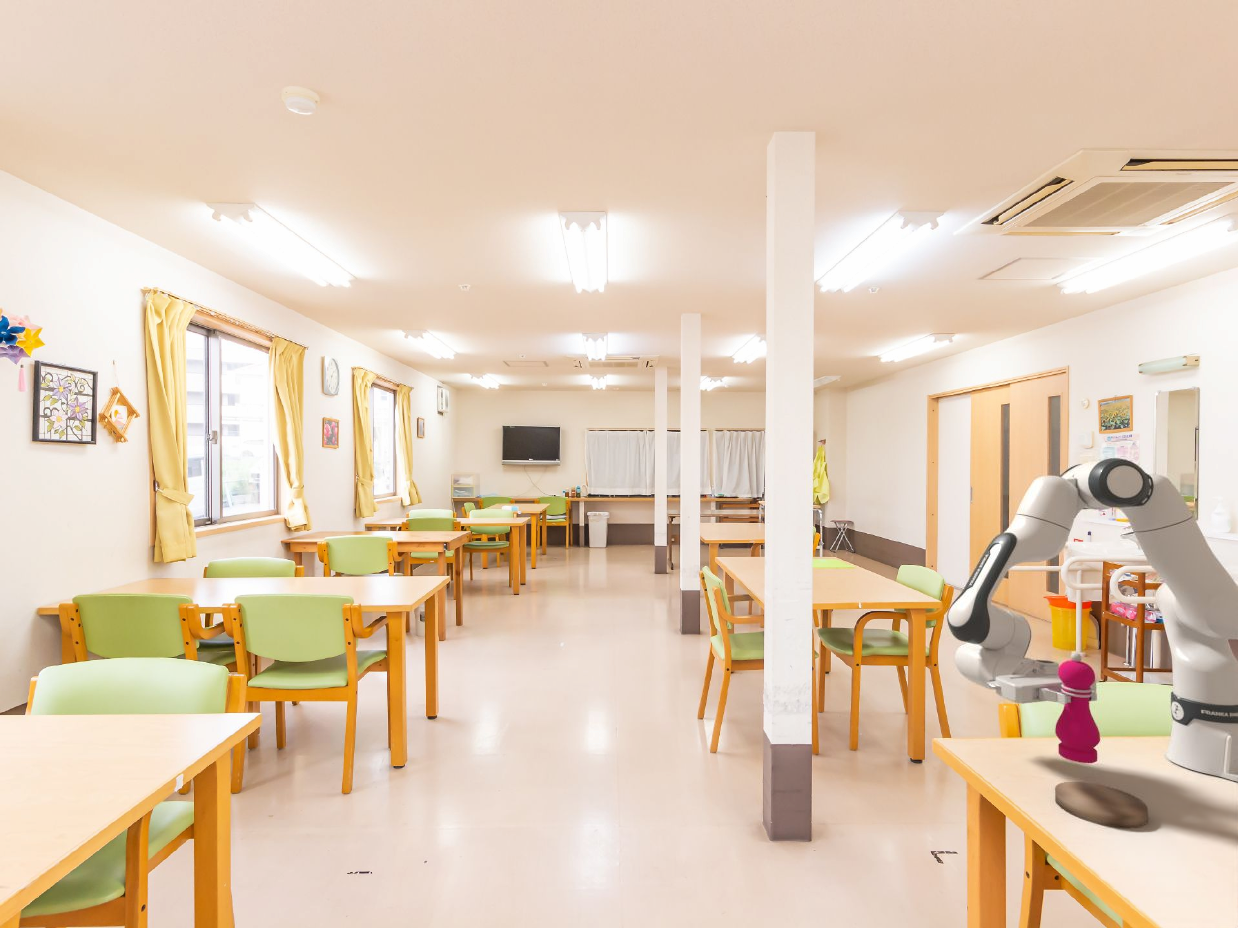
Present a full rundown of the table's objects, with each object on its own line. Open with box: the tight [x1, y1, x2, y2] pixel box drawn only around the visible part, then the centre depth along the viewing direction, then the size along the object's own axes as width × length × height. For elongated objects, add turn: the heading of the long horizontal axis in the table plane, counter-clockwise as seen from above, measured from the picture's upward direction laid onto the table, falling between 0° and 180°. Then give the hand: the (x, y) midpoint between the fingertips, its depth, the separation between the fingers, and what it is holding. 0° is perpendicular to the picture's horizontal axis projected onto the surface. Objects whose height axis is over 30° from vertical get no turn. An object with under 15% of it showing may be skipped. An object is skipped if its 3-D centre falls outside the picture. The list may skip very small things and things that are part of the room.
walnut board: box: [1054, 780, 1149, 829], centre depth 125 cm, size 14×14×2 cm
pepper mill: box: [1054, 652, 1101, 764], centre depth 131 cm, size 7×7×20 cm
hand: (1081, 698), depth 131 cm, fingers closed on pepper mill, 5 cm apart
